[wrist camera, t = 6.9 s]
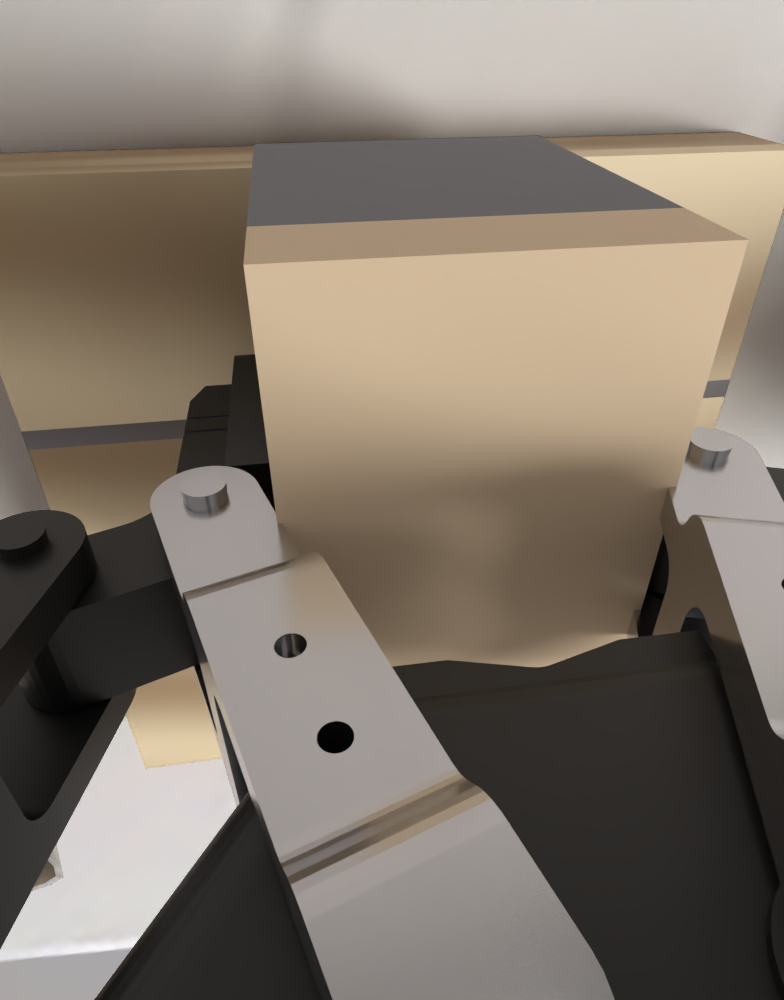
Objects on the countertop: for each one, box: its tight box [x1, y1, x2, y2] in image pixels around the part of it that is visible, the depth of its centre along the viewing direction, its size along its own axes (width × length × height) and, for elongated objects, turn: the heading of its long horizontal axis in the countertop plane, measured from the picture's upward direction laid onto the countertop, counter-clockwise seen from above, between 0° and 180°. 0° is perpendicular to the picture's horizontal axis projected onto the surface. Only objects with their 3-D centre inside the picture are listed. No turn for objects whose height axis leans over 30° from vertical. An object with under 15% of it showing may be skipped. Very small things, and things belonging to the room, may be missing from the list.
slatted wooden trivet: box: [0, 132, 784, 769], centre depth 16 cm, size 15×14×2 cm
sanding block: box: [243, 136, 749, 667], centre depth 11 cm, size 8×4×6 cm, turn 0°
